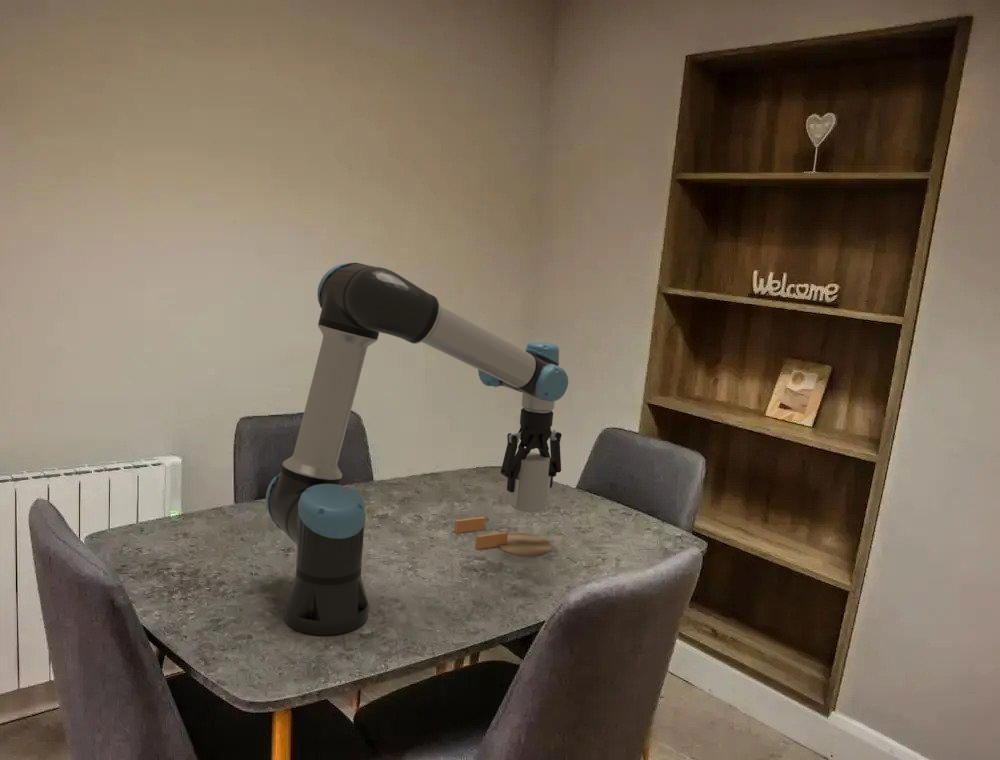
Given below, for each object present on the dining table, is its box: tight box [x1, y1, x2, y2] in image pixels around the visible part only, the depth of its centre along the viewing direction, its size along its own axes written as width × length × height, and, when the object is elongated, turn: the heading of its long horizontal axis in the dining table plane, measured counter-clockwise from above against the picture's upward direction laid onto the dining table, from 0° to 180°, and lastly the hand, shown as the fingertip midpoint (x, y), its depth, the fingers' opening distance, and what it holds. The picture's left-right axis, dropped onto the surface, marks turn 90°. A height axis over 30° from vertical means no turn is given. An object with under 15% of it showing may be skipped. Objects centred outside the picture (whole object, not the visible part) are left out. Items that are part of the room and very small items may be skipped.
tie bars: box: [454, 516, 509, 550], centre depth 187 cm, size 12×8×3 cm
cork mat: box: [498, 532, 552, 557], centre depth 186 cm, size 13×13×1 cm
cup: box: [510, 451, 551, 513], centre depth 183 cm, size 8×8×12 cm
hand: (528, 502), depth 184 cm, fingers closed on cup, 8 cm apart
